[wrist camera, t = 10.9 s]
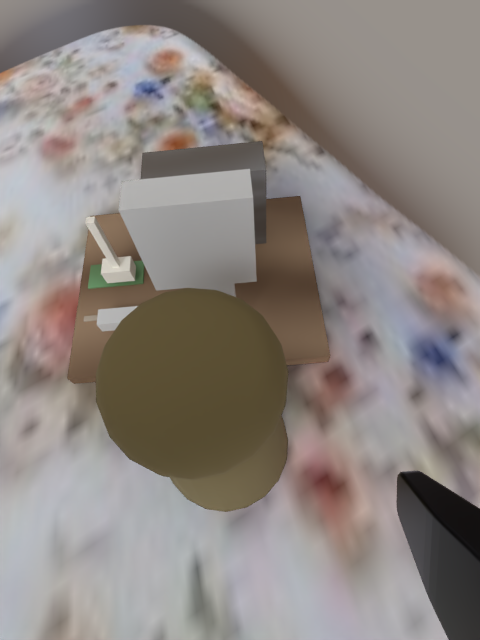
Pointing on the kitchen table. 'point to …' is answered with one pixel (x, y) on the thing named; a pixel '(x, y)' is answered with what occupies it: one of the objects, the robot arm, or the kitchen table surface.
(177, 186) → the block
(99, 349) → the board
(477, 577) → the robot arm
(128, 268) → the pointer
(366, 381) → the kitchen table surface
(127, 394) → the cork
